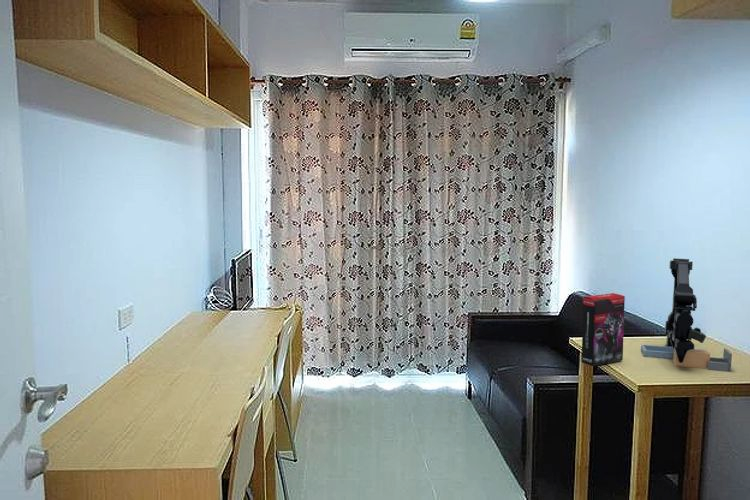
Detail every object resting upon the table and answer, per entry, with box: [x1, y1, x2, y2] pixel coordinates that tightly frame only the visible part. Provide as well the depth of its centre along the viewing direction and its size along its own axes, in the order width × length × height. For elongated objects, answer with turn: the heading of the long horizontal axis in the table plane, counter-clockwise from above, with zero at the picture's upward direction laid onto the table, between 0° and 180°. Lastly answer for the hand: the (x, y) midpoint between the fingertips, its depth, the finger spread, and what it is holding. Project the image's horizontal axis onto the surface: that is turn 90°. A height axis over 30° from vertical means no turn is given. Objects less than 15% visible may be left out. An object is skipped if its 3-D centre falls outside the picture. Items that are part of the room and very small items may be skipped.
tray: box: [640, 344, 674, 360], centre depth 254 cm, size 17×10×2 cm, turn 73°
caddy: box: [672, 348, 711, 369], centre depth 240 cm, size 12×5×6 cm, turn 73°
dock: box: [706, 347, 733, 373], centre depth 237 cm, size 8×8×7 cm
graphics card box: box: [581, 292, 626, 367], centre depth 242 cm, size 17×7×27 cm, turn 117°
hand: (679, 360), depth 241 cm, fingers closed on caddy, 5 cm apart
